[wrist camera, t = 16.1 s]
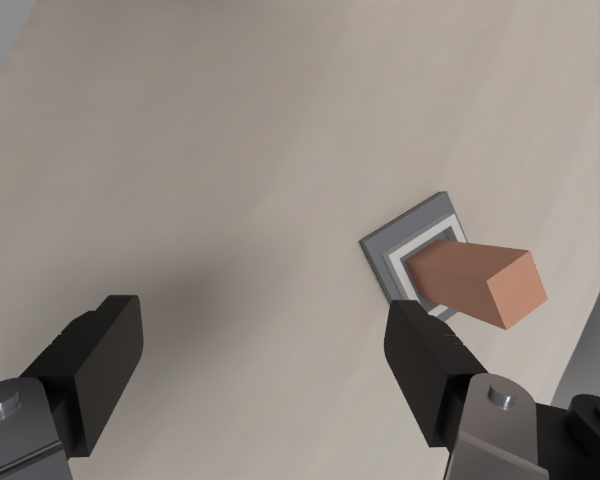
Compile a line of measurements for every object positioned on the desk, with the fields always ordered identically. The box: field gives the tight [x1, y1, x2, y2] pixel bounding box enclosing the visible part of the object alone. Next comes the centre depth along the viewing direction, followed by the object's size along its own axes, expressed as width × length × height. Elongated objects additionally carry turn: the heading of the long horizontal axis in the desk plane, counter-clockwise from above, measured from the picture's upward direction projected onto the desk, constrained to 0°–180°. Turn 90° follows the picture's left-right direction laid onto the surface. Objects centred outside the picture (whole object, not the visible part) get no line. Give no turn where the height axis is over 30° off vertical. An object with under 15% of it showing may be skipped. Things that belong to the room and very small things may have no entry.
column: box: [405, 239, 548, 330], centre depth 35 cm, size 5×5×12 cm
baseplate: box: [360, 191, 468, 322], centre depth 41 cm, size 14×12×3 cm
